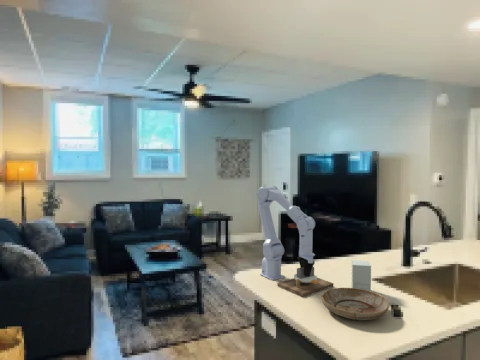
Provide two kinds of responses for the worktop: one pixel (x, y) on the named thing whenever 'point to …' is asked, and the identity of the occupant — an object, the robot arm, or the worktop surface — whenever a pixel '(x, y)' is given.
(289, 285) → the walnut base
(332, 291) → the ceramic bowl
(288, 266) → the worktop surface
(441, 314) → the worktop surface
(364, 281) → the supplement box
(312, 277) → the flange disc
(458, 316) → the worktop surface
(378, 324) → the worktop surface
